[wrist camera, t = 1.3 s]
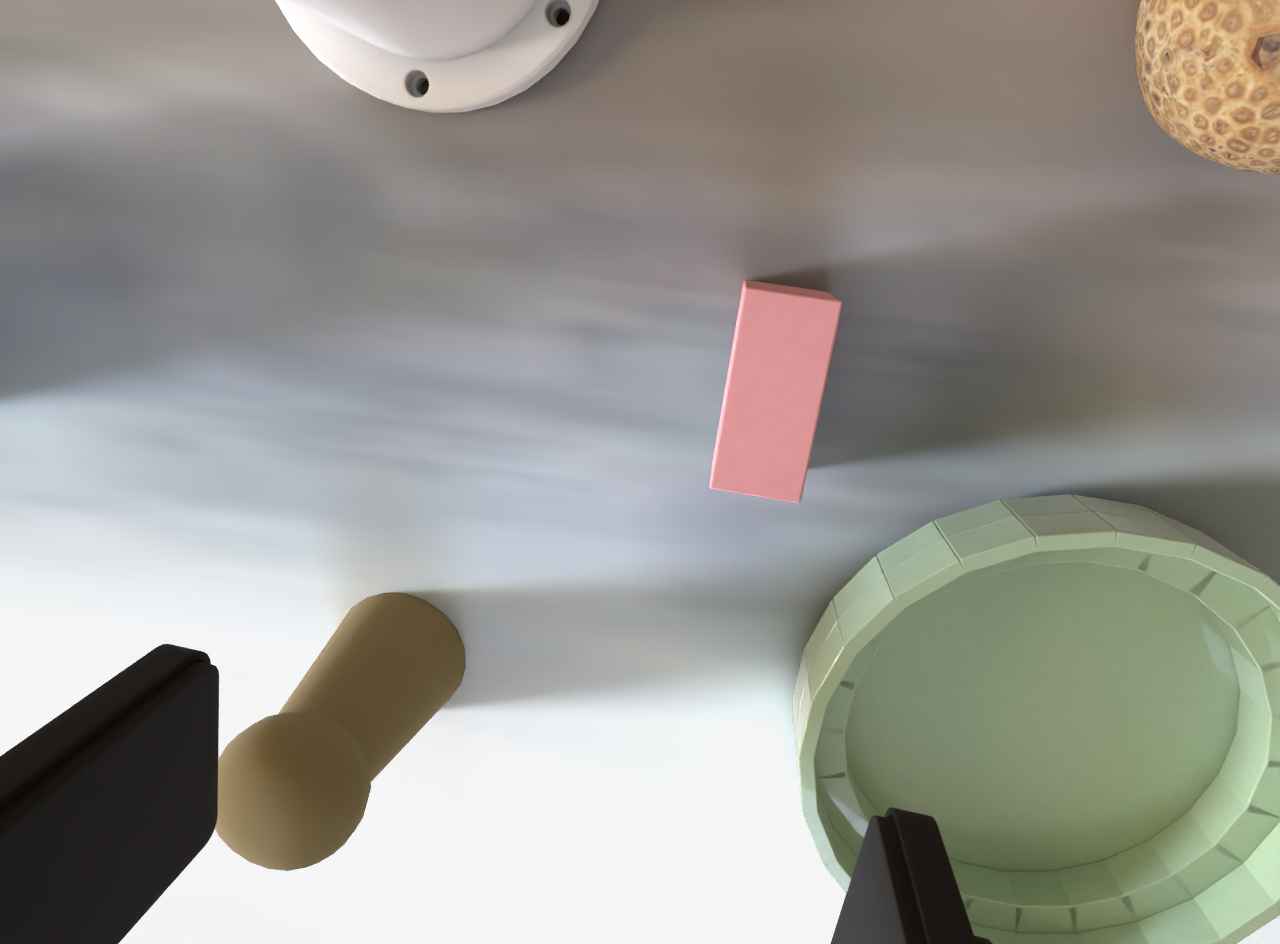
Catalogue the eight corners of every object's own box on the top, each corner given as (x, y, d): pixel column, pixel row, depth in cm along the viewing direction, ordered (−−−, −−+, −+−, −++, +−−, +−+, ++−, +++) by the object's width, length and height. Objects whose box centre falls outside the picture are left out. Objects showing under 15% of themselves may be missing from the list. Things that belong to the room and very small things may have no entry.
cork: (471, 607, 35) (354, 768, 24) (460, 723, 37) (347, 919, 26) (340, 581, 35) (170, 728, 25) (335, 697, 37) (175, 879, 27)
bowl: (845, 452, 31) (861, 487, 26) (1364, 537, 29) (1470, 589, 25) (756, 847, 37) (758, 928, 32) (1186, 934, 35) (1247, 1031, 31)
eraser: (743, 279, 29) (744, 286, 26) (830, 292, 29) (843, 300, 25) (713, 457, 31) (709, 488, 28) (793, 471, 31) (800, 504, 27)
